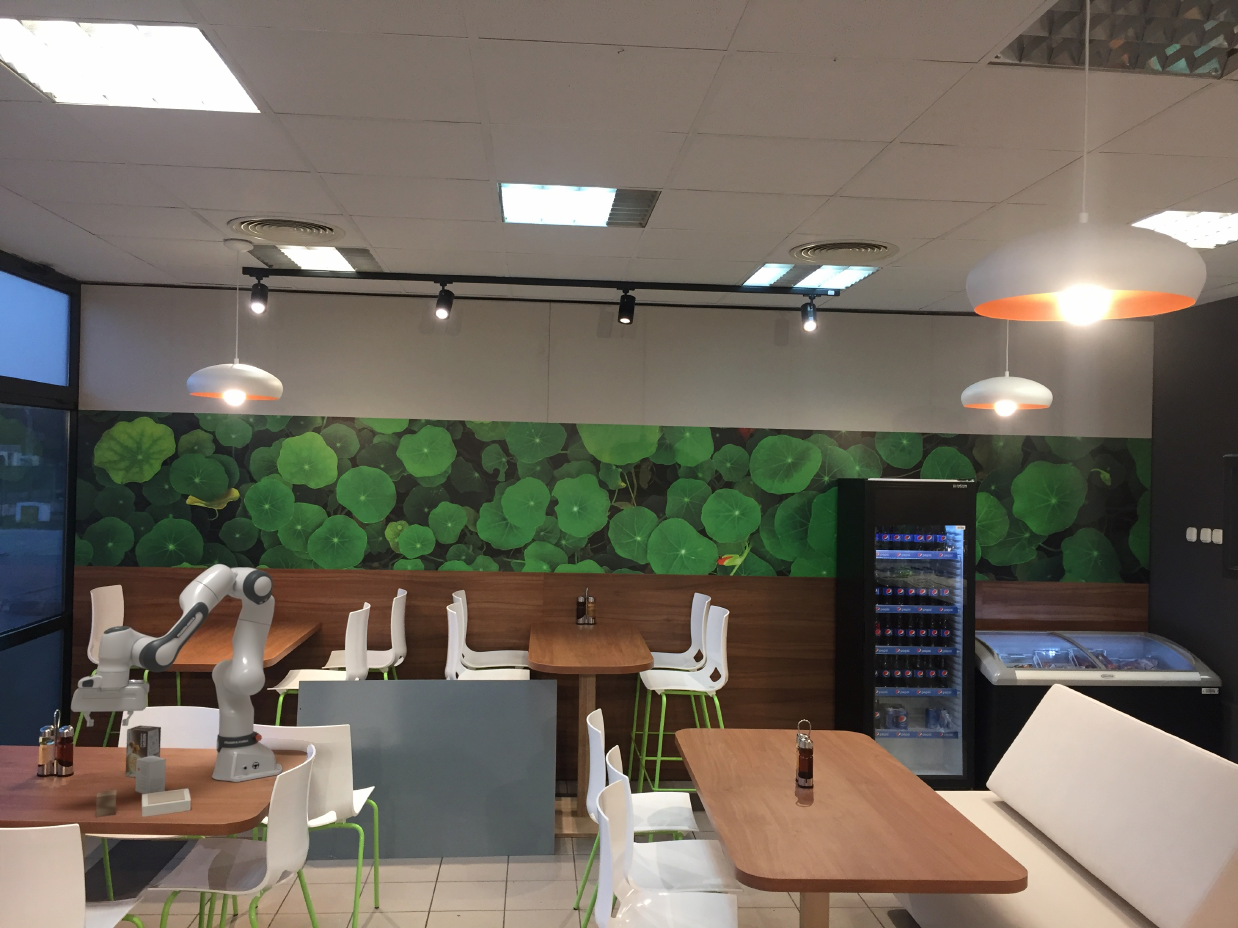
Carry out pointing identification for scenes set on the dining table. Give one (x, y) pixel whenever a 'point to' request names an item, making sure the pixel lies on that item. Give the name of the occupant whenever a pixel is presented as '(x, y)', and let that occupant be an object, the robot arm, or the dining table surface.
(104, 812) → the walnut block
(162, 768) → the small box
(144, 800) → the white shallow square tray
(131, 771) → the coffee box
